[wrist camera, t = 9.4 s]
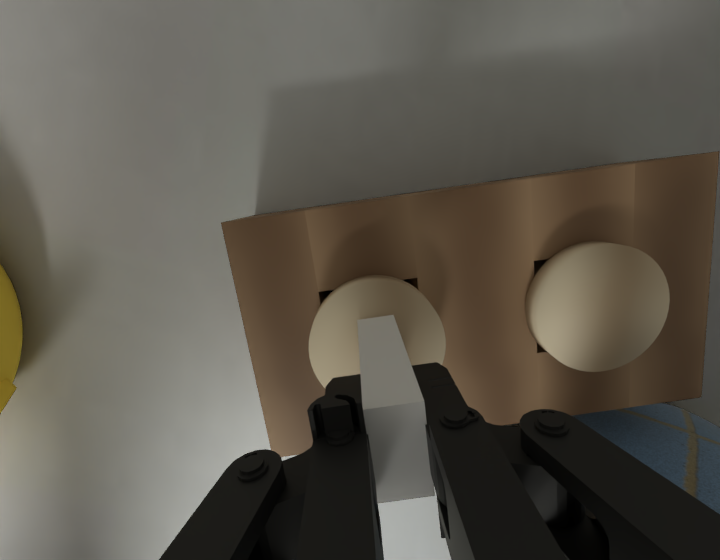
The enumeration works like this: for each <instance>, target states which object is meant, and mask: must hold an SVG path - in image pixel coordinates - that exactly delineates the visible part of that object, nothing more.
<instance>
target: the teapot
mask: <svg viewBox="0 0 720 560" xmlns="http://www.w3.org/2000/svg"><path fill="white" fill-rule="evenodd" d="M22 340H23V327H22V317H21V311H20V305H19V302H18V299H17V295H16V292H15V290H14V288H13V285H12V283H11V281H10V279H9V277H8V275H7V274H6V272H5V270H4V269H3V267H2V265H1V264H0V414H1V412H2V410H3V409H4V407H5V406H6V404H7V402H8V401H9V399H10V398H11V396H12V395H13V393H14V391H15V390H16V388H17V387H16V386H15V385H14V384H13V381H14V379H15V375H16V372H17V369H18V365H19V361H20V356H21V349H22Z"/></svg>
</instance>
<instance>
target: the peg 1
mask: <svg viewBox="0 0 720 560" xmlns="http://www.w3.org/2000/svg"><path fill="white" fill-rule="evenodd" d="M388 315H394V318H395V321H396V323H397V326H398V329H399V332H400V335H401V337H402V340H403V343H404V346H405V349H406V351H407V354H408V357H409V360H410V363H411V365H420V364H427V363H434V362H438V363H439V364H441V365H442V364H443V360H444V356H445V349H446V338H445V332H444V328H443V325H442V322H441V320H440V318H439V315H438V314H437V312H436V311H435V309H434V308H433V306H432V305H431V304H430V302H429V301H428V300H427V298H426V297H425V296H424V295H423V294H422V293H421V292H420V291H419V290H418V289H416V288H415V287H414V286H412V285H411V284H409V283H407V282H405V281H403V280H401V279H398V278H394V277H390V276H385V275H369V276H363V277H358V278H355V279H353V280H350V281H348V282H346V283H344V284H342V285H340V286H339V287H337V288H336V289H335V290H334V291H332V292H331V293H330V294H329V295H328V296H327V297H326V299H325V300H324V301H323V302H322V304H321V305H320V307H319V309H318V311H317V313H316V315H315V318H314V321H313V324H312V328H311V332H310V337H309V358H310V362H311V366H312V368H313V371H314V373H315V375H316V377H317V378H318V380H319V382H320V383H321V384H322V385H323V387H324V388H325V389H326V386H327V384H328V383H329V382H330V381H331V380H332V378H335V377H342V376H350V375H357V374H360V358H359V342H358V325H357V320H360V319H367V318H374V317H381V316H388Z"/></svg>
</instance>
